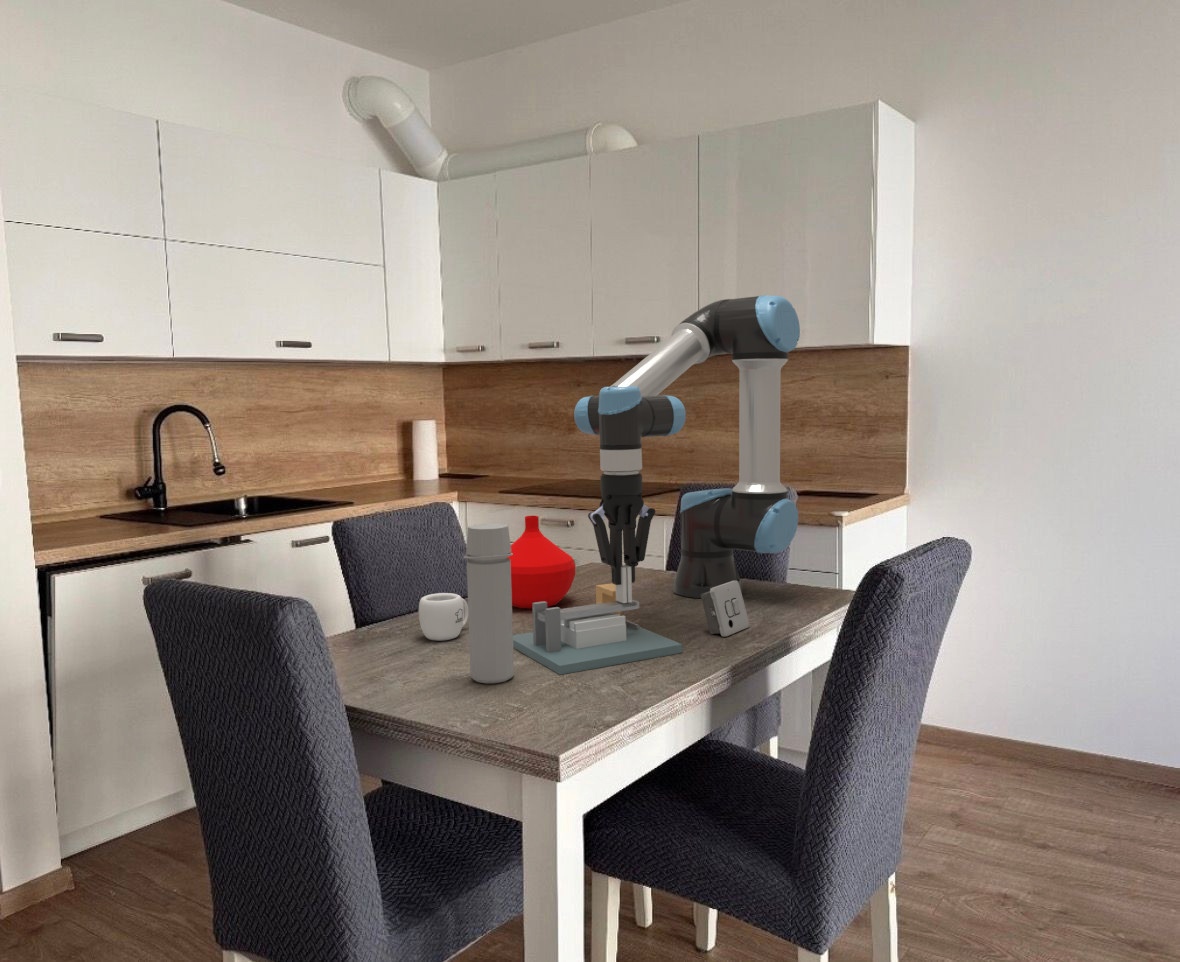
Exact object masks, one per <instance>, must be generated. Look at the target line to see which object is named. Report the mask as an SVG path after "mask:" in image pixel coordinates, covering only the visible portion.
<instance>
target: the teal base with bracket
mask: <svg viewBox="0 0 1180 962" xmlns="http://www.w3.org/2000/svg"><path fill="white" fill-rule="evenodd" d="M532 607H533V609H532V631H531V632H525V633H524V632H523V633H517V634H513V649H515V650H517V651H518V652H520V653H522V655H523V654H524V655H525V656H527V657H528V658H530V659H532V660H533V661H536V662H537V663H539V664H540V665H543V667H545V668H548V669H550V670H551V671H553V672H554V673H556V674H558V675H566V674H571V673H577V672H582V671H588V670H594V669H600V668H604V667H610V666H616V665H620V664H627V663H634V662H639V661H643V660H650V659H655V658H660V657H666V656H671V655H677V654H678V655H679V654H682V653H683V644H682V643H680V642H677V641H675V640H673V639H670V638H669V637H665V636H664V635H661V634H659V633H656V632H653V631H651V630H648V629H646V628H643V627H641V626H640V624H637V623H635V622H633V621H630V620H629V619H626V615H623V614H622V615H621V616H620V614H619V613H616V614H614V612H612V613H606V614H599V615H592V616H586V617H579V618H573V619H566V620H560V609H561V608H560V607H558V606H556V607H547V602H545V601H543V602H536V603H532ZM544 611H545V622H543V621H541V620H538V614H537V612H544Z"/></svg>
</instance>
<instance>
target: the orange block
mask: <svg viewBox="0 0 1180 962" xmlns="http://www.w3.org/2000/svg"><path fill="white" fill-rule="evenodd" d="M595 596H596V597H595V601H596V603H595V604H599V603H606V602H613V601H616V585H615V584H613V583H612V582H611V583H605V584H595ZM616 613H619V614H620V616H622V611H619V612H614V614H616Z"/></svg>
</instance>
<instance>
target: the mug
mask: <svg viewBox="0 0 1180 962" xmlns="http://www.w3.org/2000/svg"><path fill="white" fill-rule="evenodd" d="M418 619H419V620H418V621H419V624H420V625H419V626H420V628H421V631H422V633H423V635H424V637H425V638H426V639H428V640H430V641H438V642H440V641H449V640H452V639H455V638H457V637H458V636H459V635H460V633H462V629H463V626H465V625H466V623H467V622H468V620H469V615H468V602H467V601H466V599H464V598H462V597H461V595H459V594H457V593H453V592H452V593H450V592H437V593H431V594H427V595H424V596H422V597H421V598H420V600H419V603H418Z"/></svg>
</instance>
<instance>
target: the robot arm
mask: <svg viewBox="0 0 1180 962" xmlns="http://www.w3.org/2000/svg"><path fill="white" fill-rule="evenodd" d="M800 331H801V326H800V321H799V317H798V313H797V311H796V309H795V308H794V307H793V304H792V302H790V301H789V300H788V299H787V298H786V297H783V296H780V295H766V294H765V295H757V296H748V297H740V298H738V297H737V298H727V299H720V300H716V301H714V302H712V303H709V304H707V305H706V306H703V307H702V308H700V309H698V310H696V311H695V312H693V313H692V314H691V315H689V316H688V317H686V318H685V319H683V320H682V321H681V322H680V323H679V324H677V325H676V326H675V327H674V328H673V330H672V332H671V336H670V337H669V338H668V339H666V340H665V341H664V342H663V343H662V344H660V345H659V346H658V347H657V348H656V349H654V350H653V351H652V352H651V353H649V354H648V355H647V356H646V357H645V358H643V359H642V360H641V361H640V362H638V364H636V365H635V366H633V368H631V369H630V370H628V371H627V372H626V373H625V374H624V375H622V376H621V377H620V378H619V379H618V380H617V381H615V382H614V383H613V384H611V385H610V386H604V387H602V388H601V389H600V391H599V393H598V395H590V396H584V397H582V398H580V399H579V400H578V401H577V403H576V404H575V408H574V411H573V412H574V413H573V418H574V419H573V420H574V423H575V425H576V427H577V429H579V430H580V432H582V433H583V434H586V435H587V434H588V435H595V436H597V437H598V436H599V461H600V464H599V465H600V466H599V467H600V471H602V472H603V473H601V475H600V476H599V478H600V494H601V500H600V501H599V508H597V509H596V510H594V512H591V511H590V512H589V513H588V515H587V518H588V519H589V521H590V523H591V524H592V526H593V530H594V536H595V539H596V540H595V541H596V544H597V548H598V553H599V556H600V562H601V563H602V564H604V565H608V566H610V571H611V583H613V584H615V585H616V601H618V602H621V603H627V602H628V603H630V602H632V599H633V585H632V584H635V581H636V568H637V567H638V565H639V562H644V561H645V557H646V551H647V548H648V547H647V546H648V542H649V541H648V540H649V535H650V530H651V523H652V521H653V518H654V516H655V514H656V509H655V508H653V507H649V506H647V505H646V504H645V502H644V499H643V497H642V493H643V474H642V473H641V472H640V471H642V470H643V455H642V454H643V453H642V439H643V438H648V437H649V438H650V437H653V438H654V437H668V436H669V435H670V436H671V435H675V434H677V433H678V432H679V431H681V429H682V428H683V427H684V425H685V422H686V416H687V415H686V414H687V413H686V408H685V405H684V404H683V402H682V401H681V400H680V399H679V398H678V397H675V396H674V395H667V394H662V392H663V391H664V390H665V389H666V388H668V387H669V386H670V385H671V384H672V383H673V382H674V381H676V380H677V379H678V378H679V377H680V376H682V374H684V373H685V372H687V371H688V369H690V368H691V367H692V366H693V365H696V364H697V365H698V364H699V365H700V364H702V363H704V362H705V361H706V360H707V359H708V358H711V357H714V356H718V355H725V354H731V355H732V357H731V361H732V363H733V364H734V365H735V366H736V367H737V369H738V370H739V374H738V376H739V380H738V381H739V391H738V392H739V394H738V395H739V398H738V399H739V409H738V410H739V411H738V414H739V417H738V418H739V420H738V421H739V423H738V424H739V425H738V426H739V427H738V429H739V430H738V433H739V441H738V442H739V443H738V445H739V448H738V453H739V454H738V455H739V456H738V457H739V458H738V459H739V460H738V463H739V464H738V466H739V467H738V472H739V473H738V474H739V479H738V482H737V484H736V485H734V487H732V488H731V487H730V488H729V487H728V488H727V487H726V488H725V487H722V488H715V489H705V490H704V489H703V490H698V491H691V492H686V493H684V494H683V495H682V497H681V499H680V511H679V514H680V515H679V516H680V552H681V553H680V555H681V556H680V561H679V564H678V568H677V571H676V573H675V578H674V581H673V592H674V593H675V594H676V595H679V596H681V597H682V596H683V597H686V598H687V597H688V598H694V599H695V598H697V599H701V596H700V594H703V593H706V592H709V591H710V589H711V588H713V587H716V586H719V585H722V584H725V583H728V582H731V581H738V582H739V585H740V589H741V590H742V581H741V578H740V574H739V571H738V569H737V565H736V563H735V559H734V558H735V557H734V550H738V551H739V550H740V551H748V552H749V551H750V552H756V553H759V554H778V553H781V552H783V551H785V550H786V549H787V548H788V547H789V546H790V545H791V543H792V541H793V539H794V538H795V536H796V533H797V530H798V525H799V510H798V508H797V505H796V503H795V502H794V501H792V500H791V499H789V498H788V488H786V487H785V486H784V485H783V484H782V483H781V381H782V380H781V369H782V368H783V366H785V365H786V364H787V362H788V361H789V352H791V351H793V350H794V349H795V348H796V347H797V346H798V341H800V335H801V332H800ZM660 393H661V395H660ZM638 516H639V517H638ZM605 517H606V518H605ZM637 518H638V521H637ZM605 520H608V521H607V522H608V523H607V524H608V525H607V526H608V529H609V536H608V531H607V526H606V523H605ZM623 563H624V564H623Z"/></svg>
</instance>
